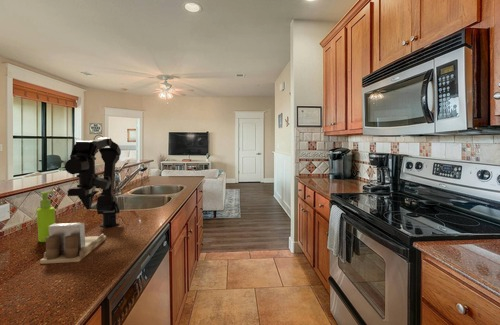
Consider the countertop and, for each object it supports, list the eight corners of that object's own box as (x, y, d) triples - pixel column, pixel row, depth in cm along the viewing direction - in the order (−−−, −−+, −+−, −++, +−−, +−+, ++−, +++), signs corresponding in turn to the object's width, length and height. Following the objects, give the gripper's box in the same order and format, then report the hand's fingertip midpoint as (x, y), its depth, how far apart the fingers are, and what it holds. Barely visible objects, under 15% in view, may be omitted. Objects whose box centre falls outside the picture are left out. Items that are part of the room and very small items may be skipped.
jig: (75, 239, 108) (74, 220, 107) (106, 238, 110) (105, 219, 109) (40, 263, 86) (38, 239, 86) (78, 261, 88) (77, 237, 87)
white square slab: (55, 251, 93) (54, 223, 92) (85, 249, 94) (84, 222, 93) (50, 254, 90) (48, 226, 89) (81, 253, 91) (79, 225, 91)
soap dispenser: (62, 237, 111) (59, 191, 110) (44, 242, 105) (42, 193, 103) (52, 235, 113) (50, 190, 112) (35, 241, 107) (32, 193, 105)
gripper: (97, 173, 98) (99, 214, 99) (116, 169, 116) (117, 203, 117) (65, 174, 96) (67, 215, 97) (89, 169, 115) (91, 204, 116)
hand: (88, 209), depth 107 cm, fingers closed
